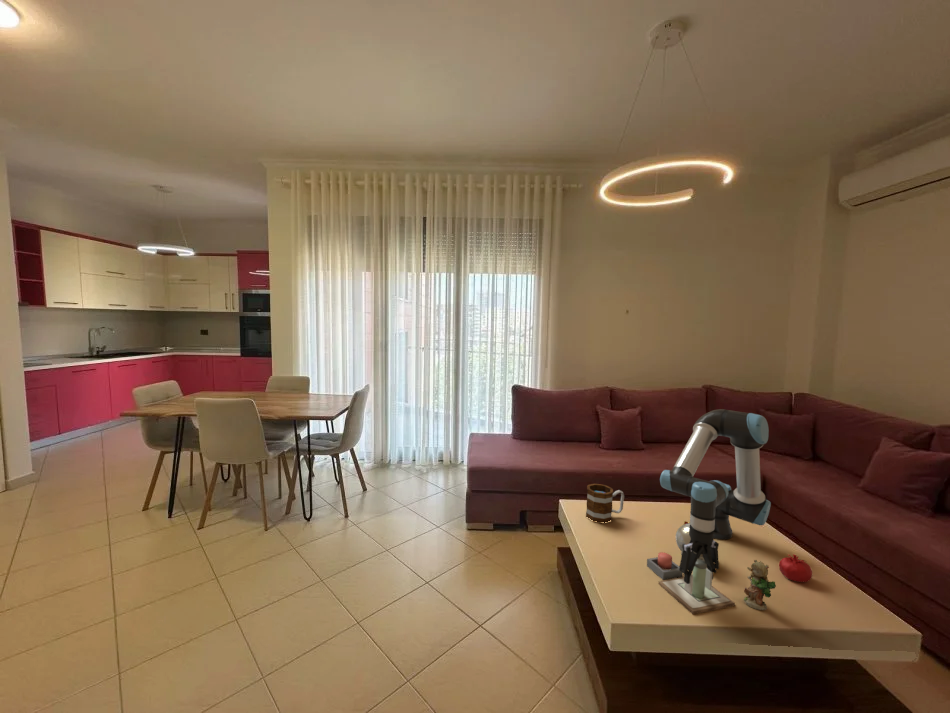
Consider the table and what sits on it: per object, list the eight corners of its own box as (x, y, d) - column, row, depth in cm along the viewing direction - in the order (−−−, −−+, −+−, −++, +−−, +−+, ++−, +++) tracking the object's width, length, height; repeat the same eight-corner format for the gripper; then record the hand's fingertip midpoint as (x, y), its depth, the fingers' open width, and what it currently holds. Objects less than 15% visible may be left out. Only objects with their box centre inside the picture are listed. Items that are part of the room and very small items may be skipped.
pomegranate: (816, 589, 143) (818, 565, 142) (783, 582, 146) (786, 559, 146) (804, 573, 152) (806, 551, 151) (773, 566, 156) (776, 545, 155)
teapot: (667, 548, 168) (670, 512, 167) (699, 549, 168) (701, 513, 167) (690, 573, 150) (692, 533, 149) (725, 575, 150) (727, 534, 149)
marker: (697, 590, 138) (699, 558, 138) (707, 598, 134) (709, 565, 134) (688, 592, 137) (690, 559, 136) (697, 600, 133) (700, 567, 132)
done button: (665, 561, 154) (665, 551, 154) (674, 568, 149) (675, 558, 149) (654, 562, 153) (655, 553, 153) (663, 570, 148) (664, 560, 148)
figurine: (737, 597, 137) (740, 557, 136) (757, 596, 138) (760, 556, 137) (758, 616, 128) (761, 573, 127) (779, 615, 129) (782, 572, 128)
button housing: (665, 563, 157) (665, 556, 157) (682, 576, 148) (682, 569, 148) (646, 566, 154) (647, 558, 154) (663, 580, 146) (663, 572, 146)
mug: (590, 524, 188) (592, 494, 187) (581, 511, 201) (582, 483, 200) (629, 523, 189) (630, 494, 189) (616, 510, 203) (618, 483, 202)
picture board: (697, 577, 148) (697, 573, 148) (734, 605, 133) (735, 602, 133) (658, 583, 143) (658, 580, 143) (692, 614, 128) (692, 610, 128)
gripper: (715, 519, 141) (711, 578, 142) (669, 525, 135) (666, 586, 137) (734, 529, 133) (730, 591, 135) (686, 536, 128) (682, 601, 129)
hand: (697, 589), depth 136 cm, fingers open, 8 cm apart
